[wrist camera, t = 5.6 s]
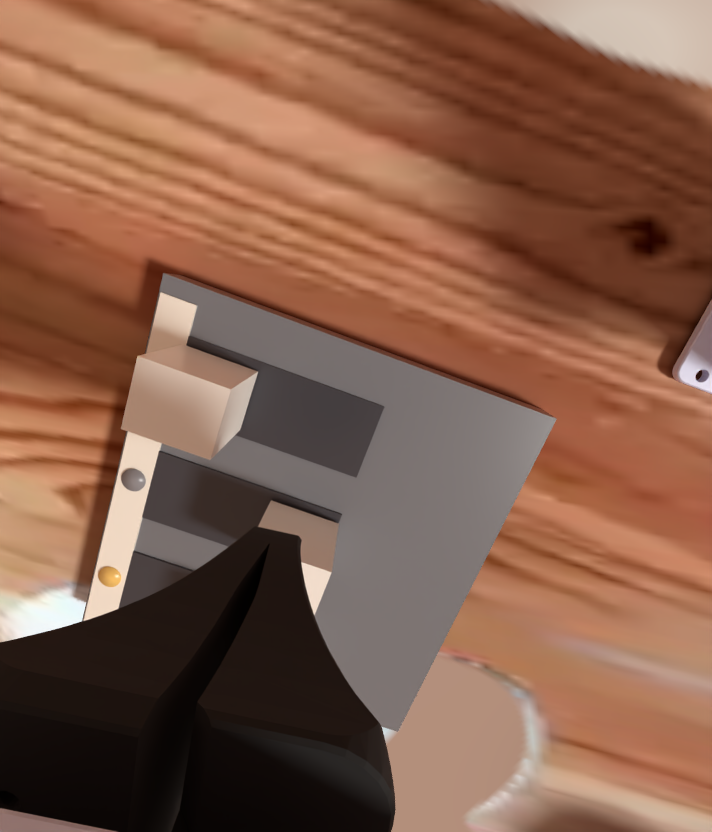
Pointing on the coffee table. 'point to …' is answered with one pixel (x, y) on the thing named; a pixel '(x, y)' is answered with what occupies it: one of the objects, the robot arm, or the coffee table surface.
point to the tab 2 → (307, 544)
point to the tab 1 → (188, 399)
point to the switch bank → (327, 483)
